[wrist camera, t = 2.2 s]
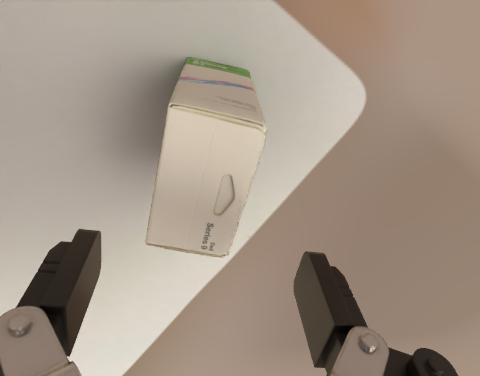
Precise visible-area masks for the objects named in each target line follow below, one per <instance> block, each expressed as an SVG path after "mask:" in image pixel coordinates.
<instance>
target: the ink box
mask: <svg viewBox="0 0 480 376" xmlns="http://www.w3.org/2000/svg"><path fill="white" fill-rule="evenodd" d="M266 131H267V127H266V124H265V121H264V118H263V115H262V112H261V108H260V105H259V102H258V99H257V96H256V93H255V90H254V87H253V83H252V81H251V77H250V72H249V71H247V70H245V69H241V68H236V67H232V66H228V65H223V64H218V63H214V62H210V61H205V60H201V59H196V58H187V60H186V63H185V65H184V68H183V70H182V72H181V75H180V77H179V79H178V82H177V84H176V86H175V89H174V92H173V94H172V97H171V100H170V102H169V105H168V109H167V115H166V122H165V128H164V134H163V140H162V146H161V151H160V157H159V163H158V169H157V174H156V180H155V186H154V192H153V198H152V204H151V210H150V216H149V222H148V228H147V235H146V241H145V243H146V244H147V245H149V246H155V247H160V248H165V249H170V250H176V251H181V252H187V253H193V254H200V255H206V256H211V257H218V258H223V257H224V256H228V254H229V250H230V248H231V246H232V241H233V238H234V236H235V234H236V231H237V228H238V224H239V219H240V216H241V213H242V211H243V208H244V206H245V203H246V200H247V197H248V192H249V188H250V185H251V182H252V180H253V178H254V175H255V172H256V169H257V166H258V163H259V158H260V155H261V153H262V150H263V148H264V144H265V134H266Z"/></svg>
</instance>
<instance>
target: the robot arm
mask: <svg viewBox="0 0 480 376" xmlns="http://www.w3.org/2000/svg"><path fill="white" fill-rule="evenodd" d="M100 269H101V232H100V231H95V230H85V229H79V230H78V231H77V233H76V234H75V236H74V238H73V240H72V242H62V241H61V242H60V243H58V244H57V245H56V246H55V247H53V248H52V249H51V250H49V252H48V254H47V256H46V257H45V259H44V261H43V263H42V264H41V266H40V268H39V269H38V272H37V273H36V274H35V276H34V278H33V280H32V281H31V283H30V285H29V286H28V288H27V290H26V292H25V293H24V295H23V297H22V298H21V300H20V302H19V303H18V305H17V307H16V308H14V309H12V310H10V311H8V312H6V313H4V314H3V315H2V316H0V376H81V374H80V372H79V370H78V368H77V366H76V364H75V363H74V362H73V361H71V362H69V360H68V358H67V356H70V354H71V352H72V349H73V346H74V343H75V341H76V338H77V335H78V333H79V330H80V327H81V324H82V322H83V319H84V316H85V313H86V311H87V308H88V305H89V303H90V300H91V297H92V294H93V292H94V289H95V286H96V283H97V281H98V278H99V274H100ZM294 295H295V299H296V302H297V305H298V309H299V313H300V317H301V320H302V324H303V328H304V331H305V335H306V338H307V342H308V346H309V349H310V353H311V357H312V360H313V364H314V367H317V368H325V369H326V372H327V376H458V375H457V373H456V371H455V369H454V368H453V366H452V365H451V364H450V362H449V361H448V360H447V359H446V358H444V357H443V356H442V355H440V354H439V353H437V352H436V351H433V350H430V349H427V348H420V349H417V350H416V351H415V352H414V354H413V355H412V356H411V355H409V354H406V353H403V352H400V351H397V350H394V349H392V348H389V347H388V346H387V343H386V342H385V340H384V339H383V338H382V337H381V336H380V335H379V334H378V333H376V332H375V331H373V330H371V329H369V328H368V326H367V324H366V322H365V320H364V318H363V316H362V314H361V312H360V309H359V307H358V305H357V303H356V300H355V298H354V297H353V294H352V292H351V290H350V289H349V285H348V283H347V281H346V279H345V277H344V276H343V274H342V273H341V272H340V271H339V270H338V269H337V268H336V267H333V266H330V265H329V262H328V260H327V258H326V255H325V254H324V253H316V252H305V253H304V254H303V257H302V259H301V262H300V265H299V268H298V271H297V273H296V276H295V279H294Z"/></svg>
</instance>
